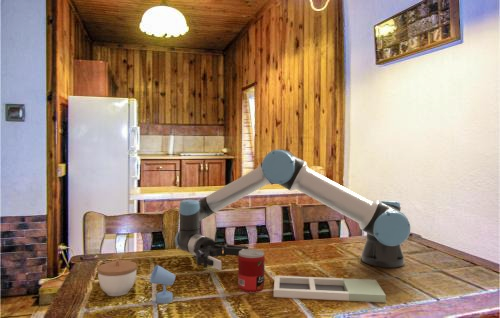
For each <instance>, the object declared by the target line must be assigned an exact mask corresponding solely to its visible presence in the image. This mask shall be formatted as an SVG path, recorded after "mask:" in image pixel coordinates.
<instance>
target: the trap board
mask: <svg viewBox="0 0 500 318" xmlns="http://www.w3.org/2000/svg"><path fill="white" fill-rule="evenodd" d="M273 298H287V299H289V298H290V299H308V300H328V301H329V300H330V301H349V302H350V301H351V302H352V301H353V302H371V303H387V295H386V293H385V292H384V290H383V288H382V287H381V286H380V284H379V283H378V281H377V280H376V279H368V278H367V279H366V278H365V279H363V278H342V277H340V278H339V277H315V276H296V275H295V276H294V275H293V276H291V275H275V276H274V284H273Z"/></svg>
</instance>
